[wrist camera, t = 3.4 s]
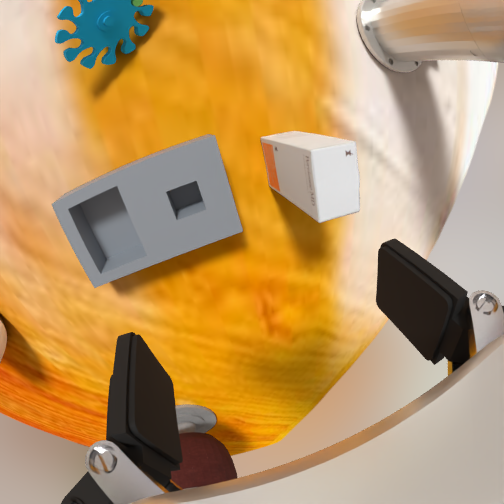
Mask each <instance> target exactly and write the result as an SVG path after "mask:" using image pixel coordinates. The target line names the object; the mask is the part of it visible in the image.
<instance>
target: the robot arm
mask: <svg viewBox="0 0 504 504" xmlns="http://www.w3.org/2000/svg"><path fill="white" fill-rule="evenodd" d="M357 24H358V28H359V32H360V34H361V37H362V39H363V41H364V43H365V45H366V46H367V48H368V49H369V51H370V52H371V53H372V55H373V56H374V57H375V58H376V59H377V60H378V61H379V62H380V63H381V64H383V65H384V66H385V67H387V68H389V69H390V70H393V71H396V72H402V73H403V72H412V71H414V70H416V69H417V68H418V67H419V66H420V65H421V63H422V61H430V60H473V61H490V62H501V63H504V0H362V1H361V2H360V4H359V6H358V9H357ZM376 303H377V305H378V307H379V309H380V310H381V311H382V312H383V313H384V314H385V315H386V316H387V317H388V318H389V319H390V320H391V321H392V322H393V323H394V325H395V326H396V327H397V328H399V330H400V331H401V332H402V333H403V334H404V335H405V336H406V338H407V339H409V341H410V342H411V343H412V344H413V345H414V346H415V348H416V349H417V350H418V351H419V352H420V353H421V354H422V355H423V357H425V359H426V360H431V361H432V363H433V364H434V365H435V364H436V363H438V362H439V361H440V360H442V359H443V358H444V356H445V357H446V359H448V376H447V377H446V378H445V379H444V380H443V381H441V382H440V383H438V384H437V385H435V386H434V387H433V388H432V389H430V390H429V391H427V392H426V393H424V394H423V395H421V396H420V397H419V398H417V399H415V400H414V401H412V402H411V403H409V404H408V405H406V406H405V407H403V408H401V409H400V410H398V411H396V412H395V413H393V414H391V415H390V416H388V417H386V418H385V419H383V420H381V421H380V422H378V423H376V424H374V425H373V426H370V427H369V428H367V429H365V430H363V431H361V432H359V433H357V434H355V435H353V436H351V437H349V438H347V439H345V440H343V441H341V442H339V443H336V444H334V445H332V446H330V447H327V448H325V449H323V450H320V451H318V452H316V453H313V454H311V455H308V456H306V457H303V458H301V459H298V460H295V461H292V462H290V463H287V464H284V465H281V466H278V467H275V468H272V469H269V470H265V471H263V472H259V473H255V474H252V475H249V476H245V477H241V478H237V479H233V480H229V481H225V482H220V483H216V484H211V485H207V486H202V487H196V488H191V489H185V490H183V489H182V488H181V487H179V486H178V485H177V484H176V483H174V482H173V481H172V480H171V479H172V477H171V471H177V470H180V464H179V463H182V462H183V457H182V450H181V444H180V437H179V430H178V423H177V415H176V407H175V398H174V388H173V383H172V380H171V378H170V376H169V375H168V374H167V372H166V371H165V370H164V368H163V367H162V366H161V364H160V363H159V362H158V360H157V359H156V357H155V356H154V354H153V353H152V352H151V350H150V349H149V347H148V346H147V344H146V343H145V341H144V340H143V338H142V337H141V336H140V335H135V333H133V332H130V333H127V334H124V335H120V336H118V339H117V345H116V353H115V361H114V370H113V375H112V376H111V378H110V386H109V397H108V412H107V434H106V440H102V441H99V442H96V443H95V444H93V445H92V446H91V447H90V448H89V450H88V452H87V454H86V459H85V463H86V468H87V470H88V472H87V473H86V474H85V475H84V476H83V478H82V479H81V480H80V481H79V482H78V483H77V484H76V485H75V487H74V488H73V489H72V490H71V491H70V492H69V493H68V494H67V495H66V496H65V498H64V499H63V501H62V503H61V504H504V306H502V305H501V303H500V301H499V299H498V298H497V297H496V296H495V295H494V294H492V293H490V292H488V291H483V290H482V291H476V292H474V293H473V294H472V295H471V296H470V298H468V297H467V291H466V290H465V289H463V288H462V287H461V286H459V285H458V284H457V283H456V282H454V281H453V280H452V279H451V278H449V277H448V276H447V275H445V274H444V273H443V272H441V271H440V270H439V269H437V268H436V267H435V266H433V265H432V264H431V263H429V262H428V261H427V260H425V259H424V258H422V257H421V256H420V255H418V254H417V253H415V252H414V251H413V250H411V249H410V248H408V247H407V246H405V245H404V244H402V243H401V242H400V241H398V240H396V239H392V240H389V241H387V242H384V243H382V244H381V248H380V249H379V251H378V276H377V294H376Z"/></svg>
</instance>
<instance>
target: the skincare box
mask: <svg viewBox="0 0 504 504" xmlns="http://www.w3.org/2000/svg"><path fill="white" fill-rule="evenodd" d="M261 143H262V147H263V153H264V158H265V163H266V169H267V175H268V181H269V186H270V187H271V188H272V189H274V190H275V191H276V192H278V193H279V194H281V195H282V196H284V197H285V198H286V199H288V200H289V201H290V202H292V203H293V204H295V205H296V206H297V207H299V208H300V209H301V210H303V211H304V212H305V213H307V214H308V215H309V216H311V217H312V218H313V219H315V220H316V221H317V222H319V223H321V222H324V221H327V220H331V219H335V218H338V217H342V216H345V215H349V214H353V213H356V212H359V211H360V194H359V187H360V176H359V170H358V160H357V149H356V142H355V141H350V140H345V139H340V138H335V137H330V136H324V135H318V134H312V133H305V132H299V131H291V132H285V133H279V134H275V135H270V136H265V137H261Z"/></svg>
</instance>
